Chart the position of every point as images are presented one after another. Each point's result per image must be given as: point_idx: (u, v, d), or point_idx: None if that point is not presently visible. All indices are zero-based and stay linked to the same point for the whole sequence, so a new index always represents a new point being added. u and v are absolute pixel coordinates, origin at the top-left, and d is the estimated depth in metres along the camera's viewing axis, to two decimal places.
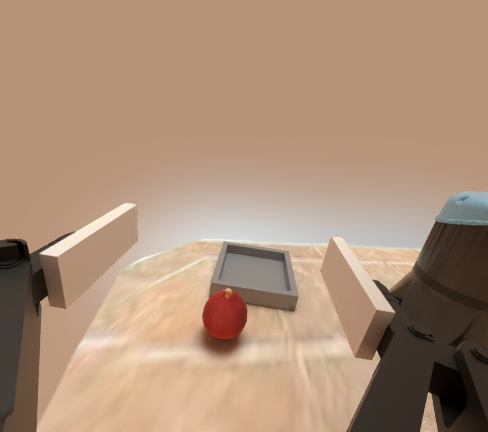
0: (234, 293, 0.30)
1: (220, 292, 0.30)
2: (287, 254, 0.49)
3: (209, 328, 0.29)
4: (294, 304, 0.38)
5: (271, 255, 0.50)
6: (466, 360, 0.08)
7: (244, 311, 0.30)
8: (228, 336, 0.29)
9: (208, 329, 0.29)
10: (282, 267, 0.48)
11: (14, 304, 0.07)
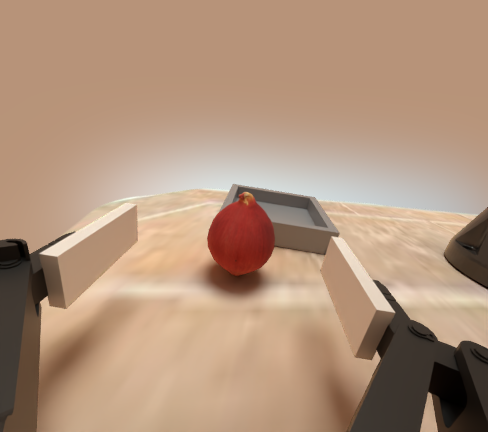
0: (256, 203, 0.20)
1: (235, 202, 0.20)
2: (313, 199, 0.39)
3: (218, 250, 0.19)
4: None
5: (293, 201, 0.40)
6: (466, 360, 0.08)
7: (271, 229, 0.19)
8: (248, 262, 0.18)
9: (217, 253, 0.19)
10: (308, 214, 0.38)
11: (14, 304, 0.07)
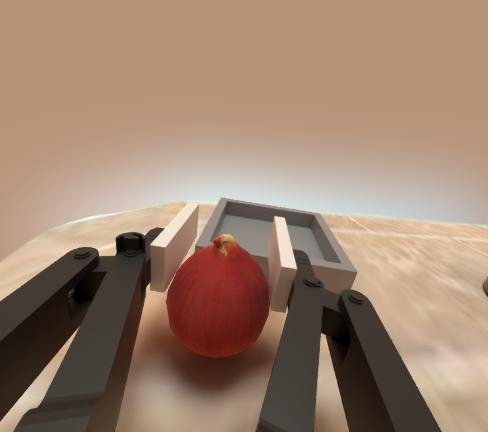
0: (241, 248, 0.13)
1: (209, 246, 0.13)
2: (319, 216, 0.32)
3: (178, 329, 0.12)
4: (348, 287, 0.21)
5: (293, 218, 0.33)
6: (346, 306, 0.09)
7: (264, 291, 0.12)
8: (226, 350, 0.11)
9: (177, 333, 0.12)
10: (312, 235, 0.31)
11: (126, 290, 0.09)
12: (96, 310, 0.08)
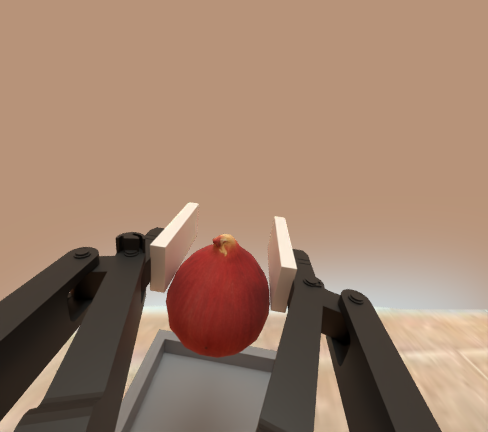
0: (241, 248, 0.13)
1: (209, 246, 0.13)
2: None
3: (178, 329, 0.12)
4: None
5: (252, 362, 0.25)
6: (346, 306, 0.09)
7: (264, 291, 0.12)
8: (226, 350, 0.11)
9: (177, 333, 0.12)
10: None
11: (126, 290, 0.09)
12: (96, 310, 0.08)
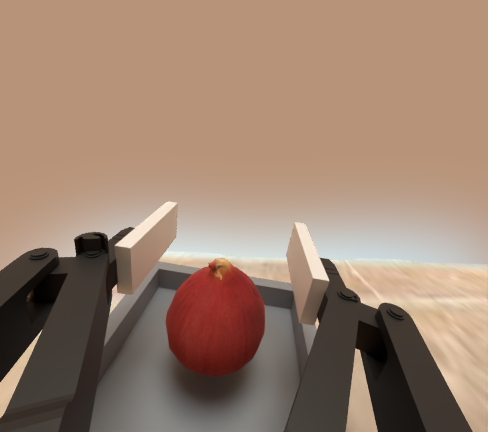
0: (237, 271, 0.13)
1: (205, 269, 0.14)
2: None
3: (176, 351, 0.12)
4: None
5: (263, 295, 0.21)
6: (384, 320, 0.09)
7: (259, 312, 0.13)
8: (222, 371, 0.12)
9: (176, 354, 0.12)
10: (290, 330, 0.19)
11: (91, 292, 0.08)
12: (58, 315, 0.07)
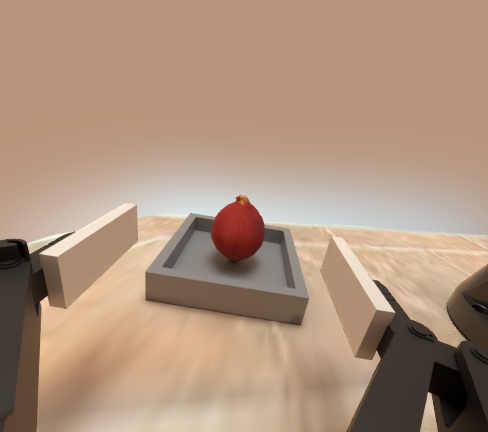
0: (250, 203, 0.25)
1: (233, 202, 0.25)
2: (287, 232, 0.32)
3: (219, 240, 0.24)
4: (301, 312, 0.21)
5: None
6: (466, 360, 0.08)
7: (262, 224, 0.25)
8: (243, 250, 0.24)
9: (218, 243, 0.24)
10: (280, 252, 0.31)
11: (15, 304, 0.07)
12: None
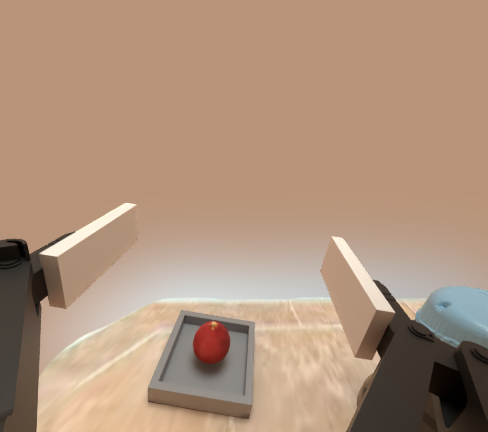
0: (219, 325, 0.36)
1: (207, 324, 0.36)
2: (252, 327, 0.43)
3: (197, 354, 0.35)
4: (248, 412, 0.32)
5: (234, 327, 0.44)
6: (466, 360, 0.08)
7: (227, 340, 0.36)
8: (213, 361, 0.35)
9: (197, 355, 0.35)
10: (245, 344, 0.42)
11: (14, 304, 0.07)
12: None
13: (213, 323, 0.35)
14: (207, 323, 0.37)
